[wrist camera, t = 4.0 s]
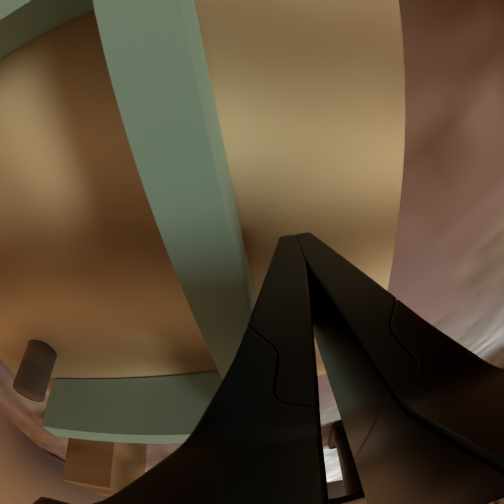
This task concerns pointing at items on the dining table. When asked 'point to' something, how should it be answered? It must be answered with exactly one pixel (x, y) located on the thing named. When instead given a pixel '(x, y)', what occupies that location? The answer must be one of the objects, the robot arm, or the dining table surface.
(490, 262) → the dining table surface
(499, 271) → the dining table surface
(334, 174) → the board
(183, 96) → the housing
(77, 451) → the block
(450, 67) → the dining table surface
